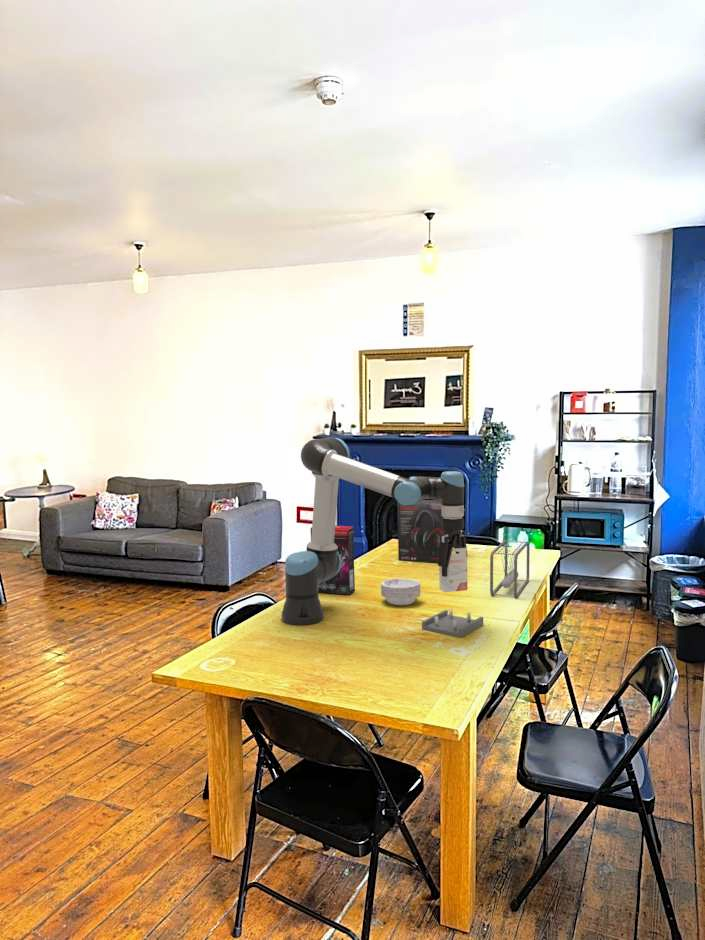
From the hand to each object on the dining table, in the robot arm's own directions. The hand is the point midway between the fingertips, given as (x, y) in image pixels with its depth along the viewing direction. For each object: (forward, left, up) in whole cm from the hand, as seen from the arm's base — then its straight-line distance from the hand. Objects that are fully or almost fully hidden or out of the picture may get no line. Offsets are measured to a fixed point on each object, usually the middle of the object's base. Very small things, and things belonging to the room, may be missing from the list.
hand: (453, 582), depth 237 cm
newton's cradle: (+57, +4, -16) cm, 59 cm away
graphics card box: (+12, +62, -16) cm, 65 cm away
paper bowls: (+15, +31, -16) cm, 38 cm away
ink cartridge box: (0, 0, -3) cm, 3 cm away
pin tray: (0, 0, -16) cm, 16 cm away
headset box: (+83, +61, -16) cm, 104 cm away
